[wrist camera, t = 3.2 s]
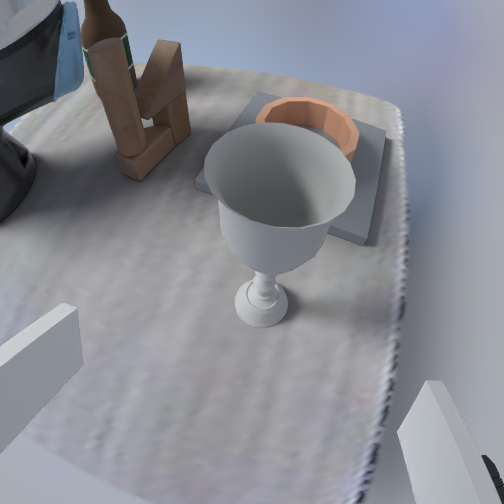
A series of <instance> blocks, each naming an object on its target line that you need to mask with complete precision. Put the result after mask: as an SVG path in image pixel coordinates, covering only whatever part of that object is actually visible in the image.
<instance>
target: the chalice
mask: <svg viewBox="0 0 504 504" xmlns="http://www.w3.org/2000/svg"><path fill="white" fill-rule="evenodd" d="M204 176H205V179H206V181H207V183H208V185H209V188H210V190H211V192H212V193H213V194H214V195H215V197H216V198H217V199H218V206H219V216H220V226H221V232H222V234H223V237H224V239H225V241H226V244H227V245H228V246H229V247H230V249H231V250H232V251H233V252H234V253H235V254H236V255H237V257H238V258H239V259H240V260H241V261H242V262H243V263H244V264H245V265H247V266H248V267H250V268H252V269H253V270H255V274H256V276H255V277H254V279H252V280H249V281H247V282H246V283H244V284H243V285H242V286H241V287H240V288H239V290H238V291H237V294H236V297H235V308H236V311H237V314H238V315H239V317H240V318H241V319H242V320H243V321H244V322H246V323H247V324H249V325H251V326H254V327H258V328H267V327H270V326H273V325H275V324H277V323H278V322H279V321H281V320H282V318H283V317H284V316H285V314H286V312H287V308H288V298H287V295H286V293H285V291H284V290H283V288H282V287H281V286H280V285H279V284H278V283H277V282H275V277H276V274H282V273H286V272H289V271H292V270H294V269H296V268H297V267H299V266H301V265H303V264H304V263H306V262H307V261H308V260H310V259H311V258H313V257H314V256H315V255H316V253H317V252H318V250H319V249H320V247H321V246H322V244H323V242H324V239H325V237H326V234H327V232H328V229H329V227H330V224H331V222H332V219H333V218H335V217H336V216H338V215H339V214H341V213H343V212H344V211H345V210H346V208H347V206H348V205H349V203H350V202H351V200H352V199H353V197H354V193H355V182H356V179H355V176H354V173H353V170H352V167H351V164H350V162H349V161H348V160H347V158H346V157H345V156H344V155H343V153H342V152H341V151H340V150H339V148H337V147H336V146H335V145H333V144H332V143H331V142H329V141H328V140H327V139H325V138H324V137H323V136H320V135H318V134H316V133H314V132H312V131H309V130H307V129H305V128H301V127H297V126H293V125H289V124H285V123H265V122H263V123H257V124H251V125H244V126H242V127H239V128H237V129H234V130H232V131H230V132H227V133H226V134H224V135H223V136H222V137H221V138H219V139H218V140H217V141H216V142H215V143H214V144H212V146H211V148H210V150H209V152H208V154H207V156H206V157H205V166H204Z"/></svg>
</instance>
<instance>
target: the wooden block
mask: <svg viewBox="0 0 504 504" xmlns="http://www.w3.org/2000/svg"><path fill="white" fill-rule="evenodd" d="M87 54H88V57H89V61H90V64H91V68H92V71H93V74H94V78H95V81H96V84H97V87H98V91H99V94H100V97H101V100H102V103H103V106H104V109H105V112H106V115H107V118H108V121H109V124H110V127H111V130H112V133H113V135H114V138H115V141H116V144H117V147H118V149H119V150H118V151H117V152H116V153H115V157H116V159H117V162H118V164H119V167H120V170H121V172H122V173H123V174H125V175H127V176H129V177H131V178H133V179H136V180H138V181H141V180H142V179H143V178H144V177H145V176H146V175H147V174H148V173H149V172H150V171H151V170H152V169H153V168H154V167H155V166H156V165H157V164H158V163H159V162H160V161H161V160H162V159H163V158H164V157H165V156H166V155H167V154H168V153H169V152H170V151H171V150H172V149H173V148H174V147H175V146H177V145H178V144H179V143H180V142H181V141H182V140H183V139H184V138H185V137H186V136H187V135H188V134H190V132H191V129H190V121H189V114H188V107H187V99H186V92H185V90H186V87H185V79H184V70H183V62H182V53H181V44H180V43H179V42H172V41H165V40H158V41H157V42H156V45H155V47H154V49H153V51H152V53H151V56H150V58H149V60H148V63H147V65H146V67H145V70H144V72H143V74H142V77H141V79H140V82H139V84H138V87H137V89H136V92H134V88H133V84H132V80H131V76H130V71H129V67H128V63H127V58H126V54H125V49H124V44H123V41H122V40H121V39H120V38H108V39H104V40H102V41H99V42H97V43H95V44H94V45H92V46H91V47H90V48H89V49H88V52H87ZM141 118H143V119H146V120H149V119H150V118H152V119H153V124H154V126H152V127H147V128H143V124H142V120H141Z"/></svg>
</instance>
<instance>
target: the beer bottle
mask: <svg viewBox="0 0 504 504" xmlns="http://www.w3.org/2000/svg"><path fill="white" fill-rule="evenodd" d="M84 5H85V20H84V22H83V24H82V27H81V33H80V34H81V44H82V48H83V52H84V55H85V59H86V62H87V65H88V69H89V72H90V75H91V78H92V82H93V85H94V88H95V90H96V93H97V95H98V96H99V97H100V94H99V91H98V87H97V84H96V81H95V78H94V74H93V71H92V68H91V64H90V61H89V57H88V54H87V52H88V49H89V48H90V47H91V46H92V45H94V44H95V43H97V42H99V41H102V40H104V39H108V38H120V39H121V40H122V41H123V44H124V49H125V54H126V58H127V63H128V67H129V71H130V76H131V80H132V84H133V88H135V87H136V85H137V80H136V74H135V69H134V65H133V60H132V55H131V51H130V46H129V41H128V36H127V31H126V28H125V24H124V22H123V21H122V20H121V18H120V17H119V16H118V15H117V14H116V13H114V12H113V11H112V10H111V8H110V6H109V3H108V0H84ZM100 99H101V97H100Z"/></svg>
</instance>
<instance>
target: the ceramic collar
mask: <svg viewBox="0 0 504 504" xmlns="http://www.w3.org/2000/svg"><path fill="white" fill-rule="evenodd" d="M263 122H265V123H285V124H289V125H298V124H305V125H308V126H311V127H315V128H318V129H321V130H324V131H325V132H326V133H328V134H329V135H330V136H331V137H333V138H334V139H335V140H337V141H338V143H339V145H340V148H341V149H339V150H340V151H341V152H342V153H343V155H344V156H345V157H346V158H347V160H348V161H349V162H350V164H351V161H352V158H353V155H354V153H355V150H356V146H357V142H358V138H359V134H360V133H359V131H358V129H357V127H356V126H355V124H354V122H353V120H352V119H351V117H350V116H349V115H347V114H346V113H344V112H343V111H341V110H340V109H339V108H337V107H336V106H334V105H333V104H330V103H327V102H324V101H320V100H317V99H314V98H310V97H285V98H284V97H283V98H281V99H278V100H276V101H273V102H271V103H268V104H266V105H264V107H263V108H262V110H261V111H260V113H259V114H258V116H257V117H256V119H255V124H257V123H263Z"/></svg>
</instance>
